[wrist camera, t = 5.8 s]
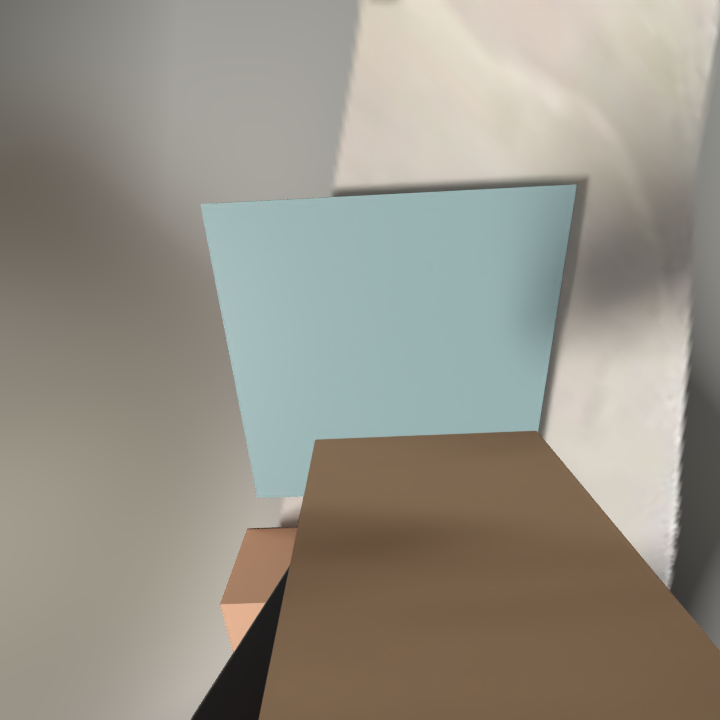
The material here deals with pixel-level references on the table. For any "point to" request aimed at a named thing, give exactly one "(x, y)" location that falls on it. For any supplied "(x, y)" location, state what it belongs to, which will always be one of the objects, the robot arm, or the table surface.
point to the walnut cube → (474, 594)
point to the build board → (386, 316)
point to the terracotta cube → (255, 577)
